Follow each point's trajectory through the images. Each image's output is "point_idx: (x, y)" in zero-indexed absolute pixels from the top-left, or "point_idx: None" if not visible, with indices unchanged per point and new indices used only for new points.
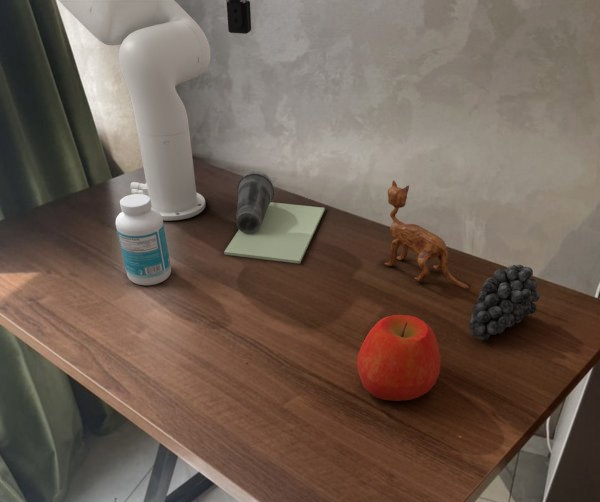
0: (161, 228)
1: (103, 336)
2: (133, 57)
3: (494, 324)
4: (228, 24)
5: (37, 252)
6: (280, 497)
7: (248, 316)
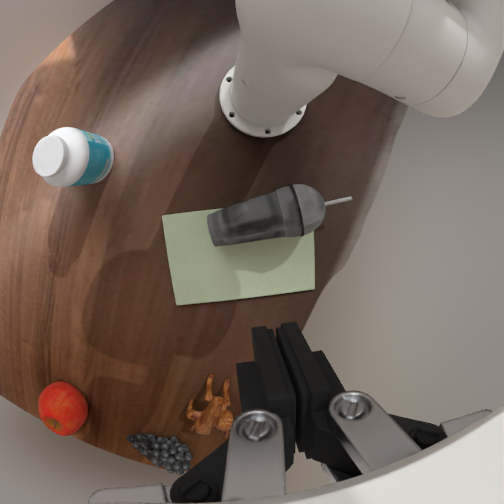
0: (67, 186)
1: (12, 184)
2: None
3: (134, 448)
4: (255, 341)
5: (111, 26)
6: None
7: (74, 288)
